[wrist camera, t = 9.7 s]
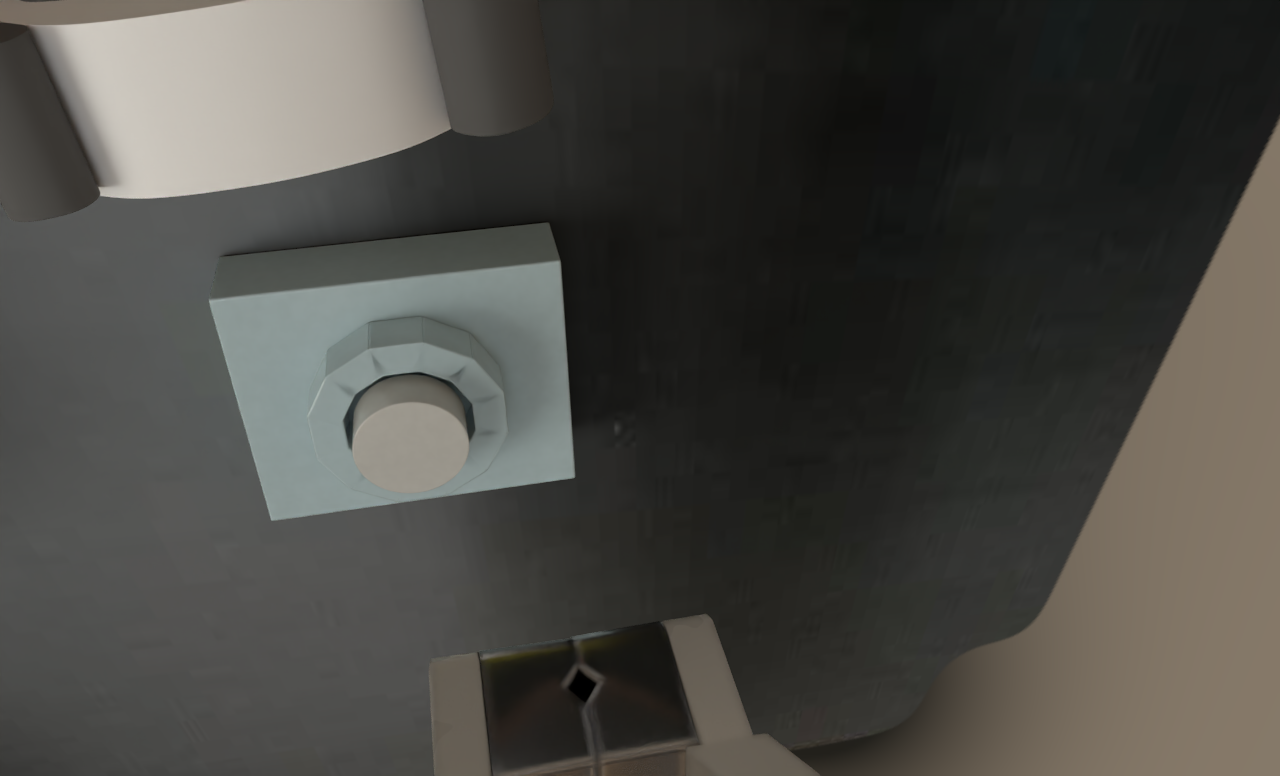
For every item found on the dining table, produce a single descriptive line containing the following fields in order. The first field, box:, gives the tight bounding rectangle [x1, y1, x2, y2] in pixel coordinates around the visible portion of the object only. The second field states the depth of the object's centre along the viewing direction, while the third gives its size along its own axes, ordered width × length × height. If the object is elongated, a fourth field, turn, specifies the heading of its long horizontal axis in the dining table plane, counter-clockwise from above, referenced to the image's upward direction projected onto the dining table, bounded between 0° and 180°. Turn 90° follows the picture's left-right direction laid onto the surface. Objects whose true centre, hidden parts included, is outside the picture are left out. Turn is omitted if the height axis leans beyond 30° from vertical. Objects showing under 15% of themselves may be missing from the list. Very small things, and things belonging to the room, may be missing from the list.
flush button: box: [352, 374, 470, 493], centre depth 38 cm, size 4×4×2 cm
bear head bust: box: [0, 0, 554, 222], centre depth 27 cm, size 12×11×15 cm
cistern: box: [209, 223, 575, 521], centre depth 41 cm, size 12×10×5 cm
